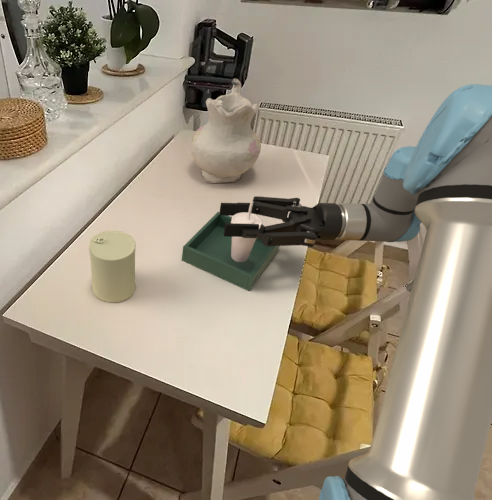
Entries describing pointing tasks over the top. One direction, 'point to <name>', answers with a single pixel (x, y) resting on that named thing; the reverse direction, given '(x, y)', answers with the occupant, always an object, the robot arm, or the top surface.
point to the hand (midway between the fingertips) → (222, 219)
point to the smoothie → (239, 244)
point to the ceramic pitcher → (226, 138)
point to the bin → (226, 254)
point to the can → (112, 265)
